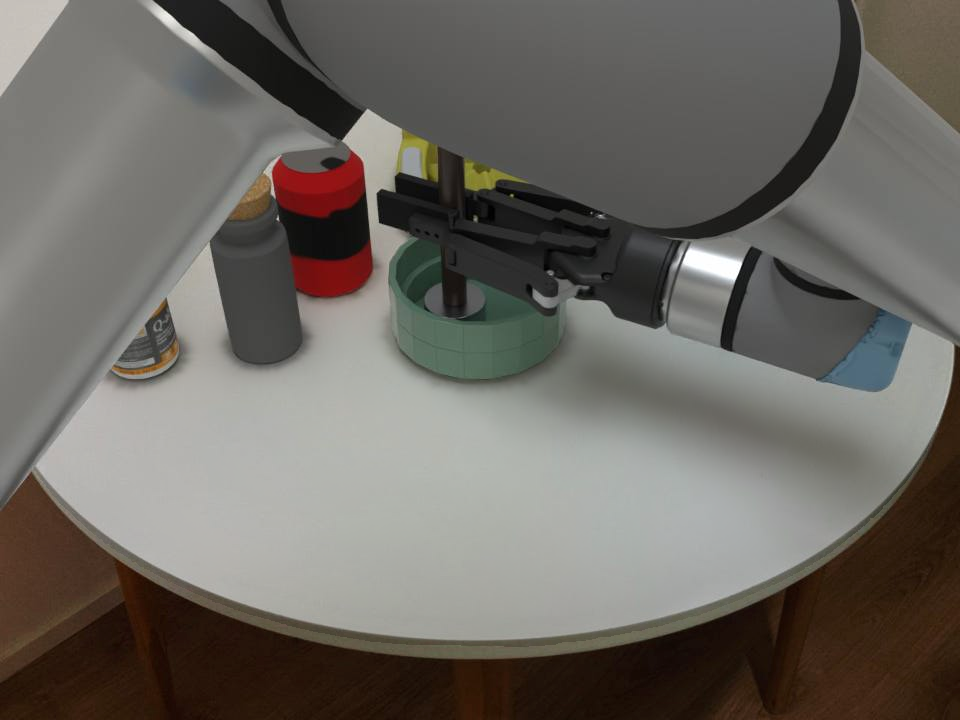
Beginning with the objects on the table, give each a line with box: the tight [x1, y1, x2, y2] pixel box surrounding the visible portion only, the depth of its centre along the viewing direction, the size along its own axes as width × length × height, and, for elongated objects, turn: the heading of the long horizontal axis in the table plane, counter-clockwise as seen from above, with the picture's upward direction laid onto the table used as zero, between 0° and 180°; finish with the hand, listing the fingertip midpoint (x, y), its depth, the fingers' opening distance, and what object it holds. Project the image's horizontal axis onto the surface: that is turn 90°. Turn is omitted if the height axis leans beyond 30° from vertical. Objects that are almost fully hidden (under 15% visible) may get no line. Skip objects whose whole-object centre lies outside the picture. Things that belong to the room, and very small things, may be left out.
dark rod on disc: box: [424, 146, 486, 321], centre depth 80 cm, size 5×5×18 cm
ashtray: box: [396, 129, 530, 234], centre depth 101 cm, size 16×21×5 cm
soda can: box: [271, 140, 374, 298], centre depth 90 cm, size 8×8×12 cm
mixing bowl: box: [387, 220, 567, 380], centre depth 86 cm, size 14×14×6 cm
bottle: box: [209, 172, 303, 365], centre depth 82 cm, size 6×6×15 cm
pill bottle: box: [110, 296, 180, 380], centre depth 82 cm, size 6×6×10 cm
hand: (389, 197), depth 82 cm, fingers closed on dark rod on disc, 2 cm apart
